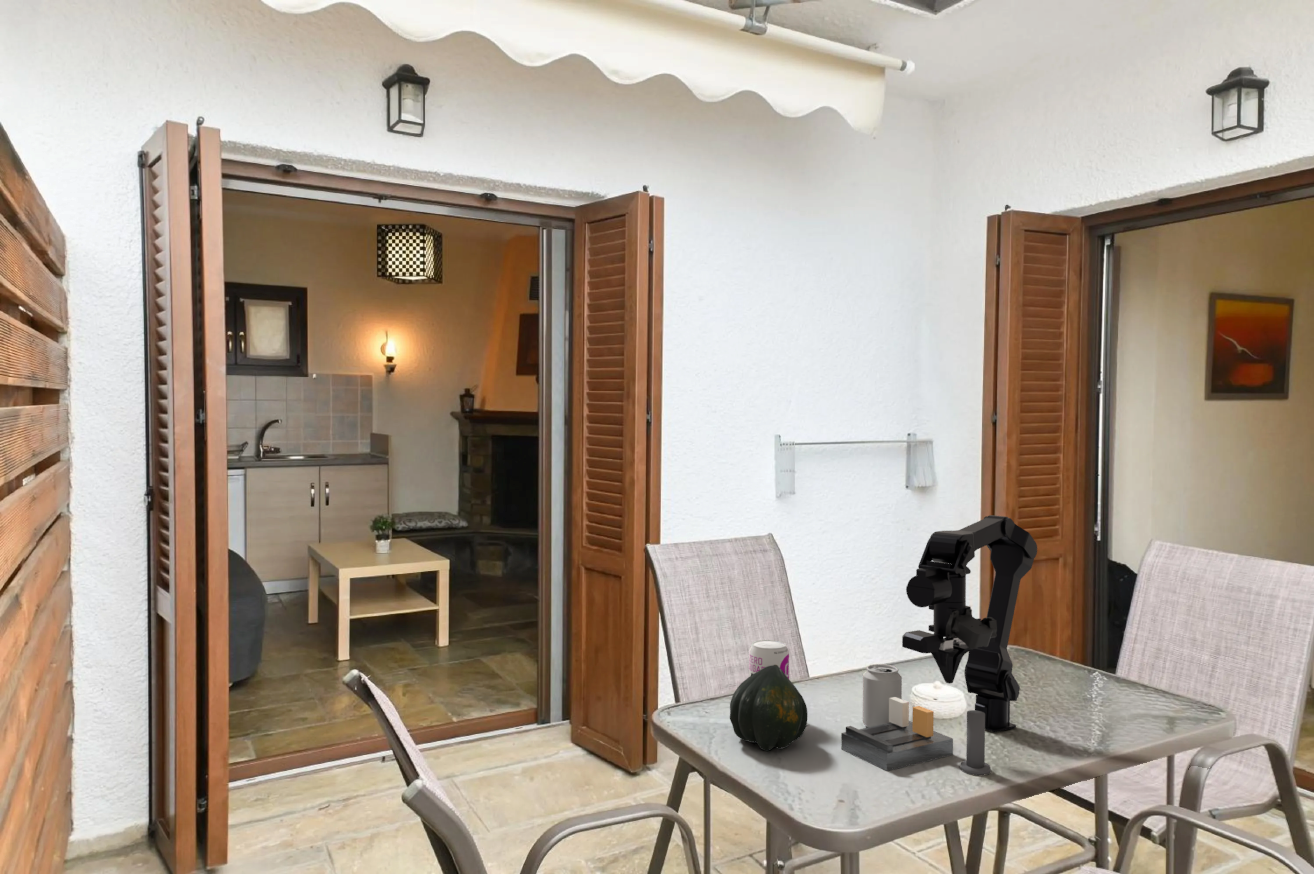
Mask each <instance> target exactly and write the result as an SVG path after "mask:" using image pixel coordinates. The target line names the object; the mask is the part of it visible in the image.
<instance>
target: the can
mask: <svg viewBox="0 0 1314 874" xmlns="http://www.w3.org/2000/svg"><path fill="white" fill-rule="evenodd" d="M902 679H903V676H902V675H901V674H900V673H899V668H898V667H896V666H894V665H890V664H883V663H882V664H881V663H880V664H879V663H875V664H869V665H867V666H866V671H865V672H863V674H862V723H863V724H864V725H865V727H866V728H868V727H872V726H877V725H882V724H887V723H891V722H889V698H892V697H897V698H899V699H902V700H903V697H902V696H903V695H902V692H903V691H902V690H903V689H902V688H903V687H902V685H903V684H902V683H903V682H902V681H903V680H902Z"/></svg>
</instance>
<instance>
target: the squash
mask: <svg viewBox="0 0 1314 874" xmlns="http://www.w3.org/2000/svg"><path fill="white" fill-rule="evenodd" d="M729 720H730V723H731V725H732V729H733V733H734V734H735V735H736V737H738V738H739V739H740V740H743V741H746V742H750V743H756V744H757V745H758V746H759V748H760V749H761V750H763V751H767V752H768V751H771V750H772V749H774V747H775V748H777V749H785V748H787V747H789V746H791V744H792V743H793V742H795V741H797V740H798V739H800V738H801V737H802V736H803V734H804V732H805V730H806V728H807V725H808V707H807V704H806V702H805V700H804V698H803V696H802V694H801V693H800V691H799V690H798V689H797V687H796V686H795V684H794V683H793V682H792V681H791V680H790V678H789V679H788V677H787V676H786V675H785V674H784V672H783V671H782V670H781V669H780V668H779V667H778V665H772V666H767V667H765V668H763V669H761V670H760V671H758V672H756V673H754V674H753V675H751V676H750V677H749V676H748V677H747V678H746V679H744V681H743V682H741V683H740V684H739V685H738V686H737V688H736V690H735V691H734V692H733V694H732V697H731V700H730V702H729Z"/></svg>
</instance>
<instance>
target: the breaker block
mask: <svg viewBox="0 0 1314 874" xmlns="http://www.w3.org/2000/svg"><path fill="white" fill-rule="evenodd" d="M912 730H913V721H910V720H909V726H906V727H901V726H898V725H896V724H894V723H887V724H882V725H877V726H872V727H868V728H867V727H864V728H857V727H854V726H852V725H849V726H845V732H841V736H840V737H841V744H840V745H841V750H843V751H845V752H846V753H849V754H851V755H853V756H855V757H857V758H858V759H860V760H862V761H864V762H867V763H869V764H872V765H874V766H875V767H878V768H880V769H882V770H884V771H886V772H889V771H892V770H896V769H900V768H905V767H909V766H912V765H918V764H921V763H926V762H929V761H933V760H937V759H941V758H945V757H950V756H953V755H954V738H952V737H950V736H947V735H945V734H943V733H940V732H938V731H935V730H933V736H931V737H925V736H922V735H920V734H918V733H915V732H913V731H912Z"/></svg>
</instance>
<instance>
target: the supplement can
mask: <svg viewBox="0 0 1314 874" xmlns="http://www.w3.org/2000/svg"><path fill="white" fill-rule="evenodd" d="M748 651H749V652H748V677H750V676H751V675H753V674H754V673H756V672H758V671H760V670H761V669H763V668H765V667H767V666H772V665H778V667H779V668H780V669H781V670H782V671H783V672H784V674H785V675H786V676H787V677H788V679H789V680H790V651H789V648H788V647H787V643H785V642H783V641H779V640H775V639H762V640H761V639H760V640H755V641H753V642H752V643H751V646H750V648H749V650H748Z"/></svg>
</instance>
